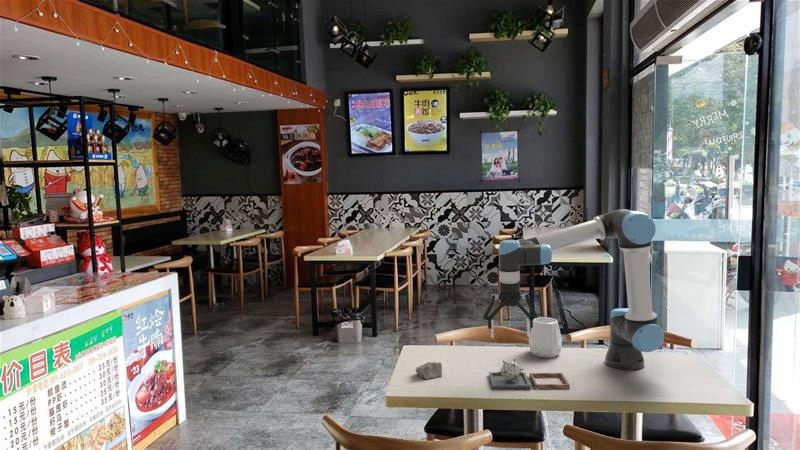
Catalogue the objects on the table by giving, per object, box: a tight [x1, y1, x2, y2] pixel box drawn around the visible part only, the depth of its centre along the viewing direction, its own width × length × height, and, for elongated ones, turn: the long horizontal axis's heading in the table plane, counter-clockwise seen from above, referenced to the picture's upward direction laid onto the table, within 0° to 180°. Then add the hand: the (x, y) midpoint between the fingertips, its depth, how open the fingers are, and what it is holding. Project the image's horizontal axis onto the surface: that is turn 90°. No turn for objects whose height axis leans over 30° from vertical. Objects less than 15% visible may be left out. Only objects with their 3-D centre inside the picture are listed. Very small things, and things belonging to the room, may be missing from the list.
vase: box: [528, 316, 563, 359], centre depth 262 cm, size 14×14×15 cm
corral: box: [529, 372, 571, 390], centre depth 230 cm, size 13×13×2 cm
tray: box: [488, 371, 532, 390], centre depth 230 cm, size 14×14×2 cm
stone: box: [415, 361, 443, 380], centre depth 239 cm, size 10×8×6 cm
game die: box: [497, 358, 524, 383], centre depth 230 cm, size 9×8×10 cm
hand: (510, 336), depth 229 cm, fingers open, 13 cm apart
